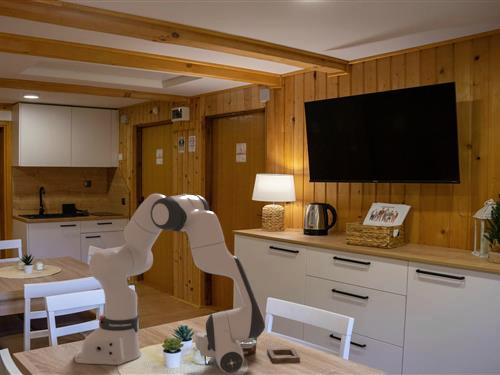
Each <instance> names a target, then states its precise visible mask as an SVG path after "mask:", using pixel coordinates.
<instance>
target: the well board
mask: <svg viewBox="0 0 500 375" xmlns="http://www.w3.org/2000/svg"><path fill="white" fill-rule="evenodd" d="M266 353H267V355H268V358H269V359H270V361H271V363H300V362H301V357H300V355H299V354H298V353H297V351H296V349H295V348H294V347H288V348H287V347H286V348H285V347H284V348H283V347H282V348H281V347H280V348H267V349H266ZM283 354H284V355H286V356H276V355H283ZM287 354H288V355H289V356H287ZM290 355H291V356H290Z"/></svg>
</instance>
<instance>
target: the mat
mask: <svg viewBox="0 0 500 375" xmlns="http://www.w3.org/2000/svg"><path fill="white" fill-rule="evenodd" d="M207 365H218V364H217V361H216V358H213V357H211V358H210V360H209V361H208V364H207Z"/></svg>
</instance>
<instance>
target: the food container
mask: <svg viewBox="0 0 500 375" xmlns="http://www.w3.org/2000/svg"><path fill="white" fill-rule="evenodd" d="M254 340H256V342H257V340H258V337H256V338H254ZM257 343H258V342H257ZM242 350H243V354H244V357H249V356H253V355H255V354H256V352H257V344H256V345H253V347H252V348H242Z"/></svg>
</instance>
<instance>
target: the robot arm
mask: <svg viewBox="0 0 500 375" xmlns="http://www.w3.org/2000/svg"><path fill="white" fill-rule="evenodd" d="M163 230H164V231H169V232H171V231H172V232H177V233H179V232H180V231H181V230H182V231H184V233H186V235H187V238H188V240H189V246H190V251H191V255H192V259H193V261H194V264H195V266H196V267H197V268H198V269H199V270H201V271H202V272H205V273H207V274H213V275H217V276H218V275H219V276H225V277H228V278H229V279H230V278H231V279H232V280H233V281H234V283H235V285H236V287H237V290H238V292H239V294H240V297H241V300H242V303H243V305H242V306H241V307H237V308H233V309H228V310H227V309H226V310H223V311H218V312H214V313H211V314H210V315H209V316H208V318H207V320H206V322H205V332H196V333H195V335H194V343H195V344H194V345H195V348H196V349H197V351H199V355H200V356H202V357H205V356H207V357H213V358H216V361H217V364H216V365H218V367H219V369H220V370H221V371H223V372H224V373H226V374H234V373H237V372H238V371H239V370H241V369H242V367H243V365H244V361H245V358H244V357H245V356H244V354H243V350H242V348H252V347H253V345H256V346H257V343H258V342H256V340H254V338H256V337H257V338H259V337H260V336H261V335H262V333H264V331H265V329H266V319H265V317H264V314H263V312H262V310H261V309H260V306H259V305H258V302H257V299H256V297H255V294H254V292H253V290H252V287H251V285H250V282H249V279H248V277H247V276H248V275H247V273H246V271H245V270H244V267H243V265H242V263H241V261H240V259H239V258H238V257H237V256H235V255H233V254H232V253H231V252H230V251H229V250H228V247H227V244H226V242H225V236H224V233H223V228H222V226H221V223H220V221H219V218H218V216H217V214H216V213H215V212H214V211H210V206H209V203H208V201H207V200H206V199H205V198H204V197H203V196H201V195H198V194H193V193H192V194H177V195H171V196H166V195H163V194H162V193H156V192H155V193H152V194H149V195H148V196H147V197H146V199H144V200H143V202H141V203H140V205H139V206H138V208H137V209H136V211H135V212H134V213H133V215H132V216H131V219H130V220H129V222H128V223H127V224H126V226H125V227H124V230H123V236H124V240H125V241H126V242H125V243H124V244H123V245H121V246H117V247H109V248H104V249H102V250H101V249H100V250H99V251H97V252H94V253H93V254H92V255H91V256H90V258H89V260H88V270H89V272H90V274H91V276H92V277H93V279H95V280H97V282H98V283H99V284H100V286H101V287H102V290H103V293H104V303H105V305H104V308H105V309H104V310H105V313H104V314H100V316H99V318H98V319H99V320H98V327H97V328H96V329H95V330H93V331H92V332H91V333H90V334H88V335H87V336H86V337H85V339H84V341H83V343H82V346H81V348H80V349H79V350H78V351H77V352H76V353H75V356H74V362H75V363H77V364H88V365H91V364H93V365H110V366H113V365H114V366H115V365H116V366H119V365H122V364H125V363H126V362H130V361H134V360H136V359H138V358H139V357H141V354H142V352H141V350H140V349H141V348H140V344H139V336H138V331H139V315H138V294H137V292H136V291H135V290H134V289H132V288H131V287H130V286H129V284H128V283H129V282H128V277H132V276H138V275H141V274H143V273H145V272H147V271H149V270H150V269H151V268H152V266H153V263H154V256H153V252H152V247H153V245H154V244H155V243H156V241H157V239H158V238H159V236H160V234H161V233H162V231H163Z"/></svg>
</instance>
